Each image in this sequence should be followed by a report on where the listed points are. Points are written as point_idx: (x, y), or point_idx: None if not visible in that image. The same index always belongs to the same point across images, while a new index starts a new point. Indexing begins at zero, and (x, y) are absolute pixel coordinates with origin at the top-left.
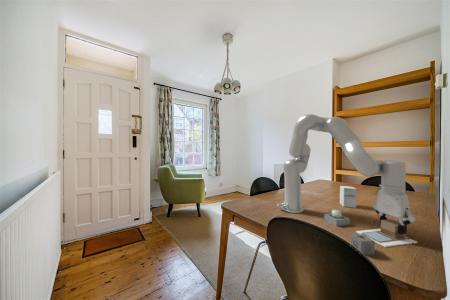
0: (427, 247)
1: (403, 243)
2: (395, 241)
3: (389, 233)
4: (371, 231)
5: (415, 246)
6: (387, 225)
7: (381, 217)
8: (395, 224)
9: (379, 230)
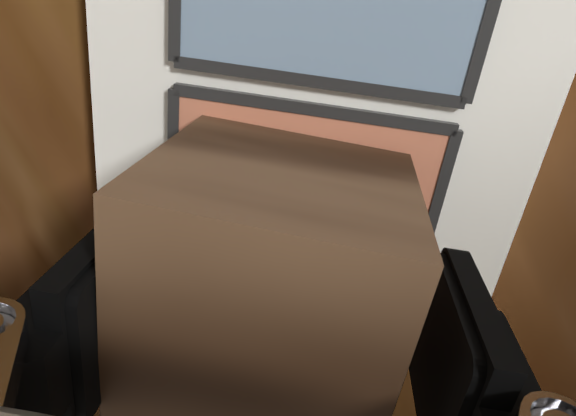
0: (29, 285)
1: (93, 99)
2: (154, 50)
3: (262, 140)
4: (512, 58)
5: (57, 194)
6: (280, 200)
7: (502, 406)
8: (155, 297)
9: (460, 228)
